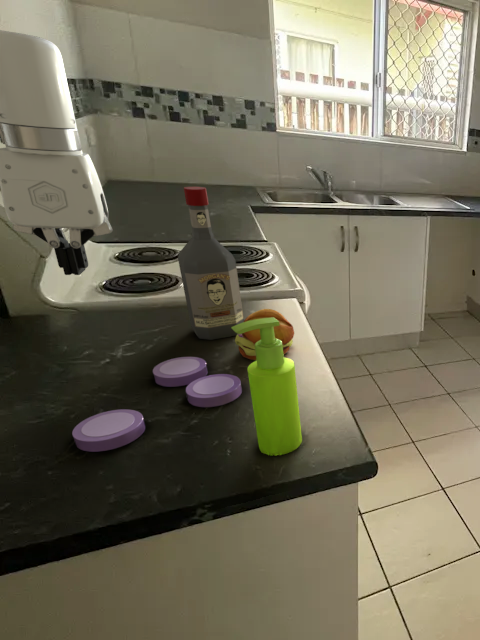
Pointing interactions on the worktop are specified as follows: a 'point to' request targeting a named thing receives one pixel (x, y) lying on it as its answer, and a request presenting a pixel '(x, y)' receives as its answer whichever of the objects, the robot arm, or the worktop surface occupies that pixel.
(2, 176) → the robot arm
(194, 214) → the liquor
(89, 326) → the worktop surface
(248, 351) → the cheeseburger
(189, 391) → the middle dish
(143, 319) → the worktop surface
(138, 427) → the dish
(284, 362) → the soap dispenser
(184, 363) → the dish
